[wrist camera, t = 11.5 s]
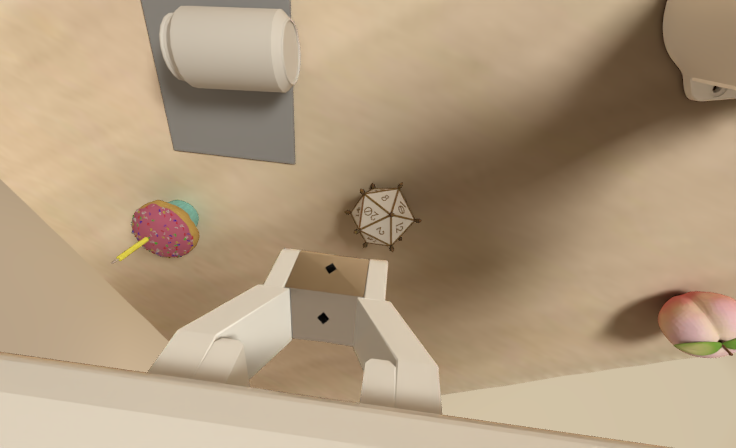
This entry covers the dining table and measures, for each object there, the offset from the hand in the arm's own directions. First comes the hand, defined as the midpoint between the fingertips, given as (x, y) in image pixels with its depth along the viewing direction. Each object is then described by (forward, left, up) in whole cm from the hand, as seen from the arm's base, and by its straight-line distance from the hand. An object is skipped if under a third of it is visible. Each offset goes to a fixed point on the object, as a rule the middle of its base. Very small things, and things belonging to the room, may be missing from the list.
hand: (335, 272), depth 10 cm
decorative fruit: (-45, +26, -34) cm, 62 cm away
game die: (-1, +16, -34) cm, 38 cm away
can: (+9, -2, -30) cm, 32 cm away
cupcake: (+28, +22, -34) cm, 49 cm away
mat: (+19, +2, -34) cm, 39 cm away
